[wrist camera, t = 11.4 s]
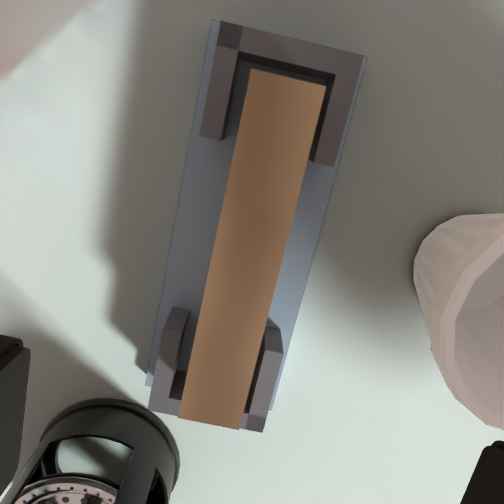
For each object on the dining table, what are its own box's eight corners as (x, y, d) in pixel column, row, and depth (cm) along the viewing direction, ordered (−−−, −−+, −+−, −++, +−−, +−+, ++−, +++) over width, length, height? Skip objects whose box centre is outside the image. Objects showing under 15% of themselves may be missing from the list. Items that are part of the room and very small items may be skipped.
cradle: (363, 60, 24) (383, 48, 20) (270, 401, 30) (273, 442, 26) (214, 23, 24) (206, 4, 20) (148, 376, 29) (132, 415, 25)
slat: (308, 95, 24) (326, 86, 18) (242, 366, 28) (239, 429, 22) (252, 82, 24) (251, 68, 18) (193, 356, 28) (177, 417, 22)
